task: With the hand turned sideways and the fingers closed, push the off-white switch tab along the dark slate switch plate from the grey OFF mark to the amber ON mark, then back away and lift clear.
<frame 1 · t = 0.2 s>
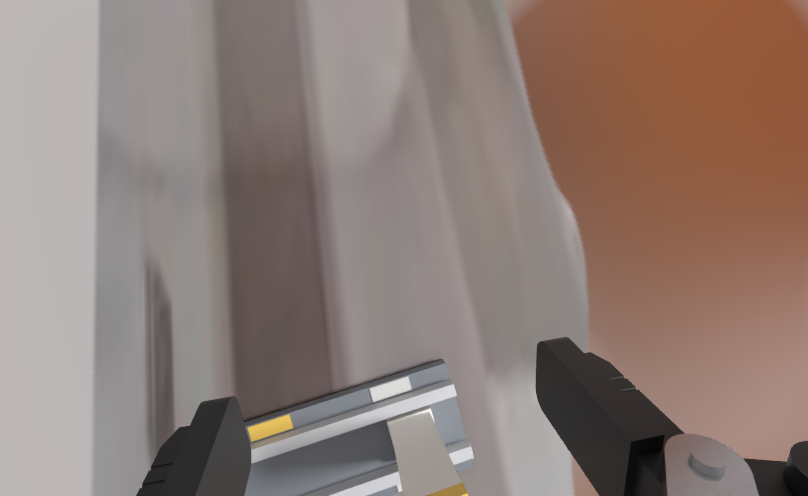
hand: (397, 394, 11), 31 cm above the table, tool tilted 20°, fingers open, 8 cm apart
switch plate: (345, 446, 41), on the table
switch tab: (425, 471, 33), point 9 cm above the table, slide at -7.0 cm
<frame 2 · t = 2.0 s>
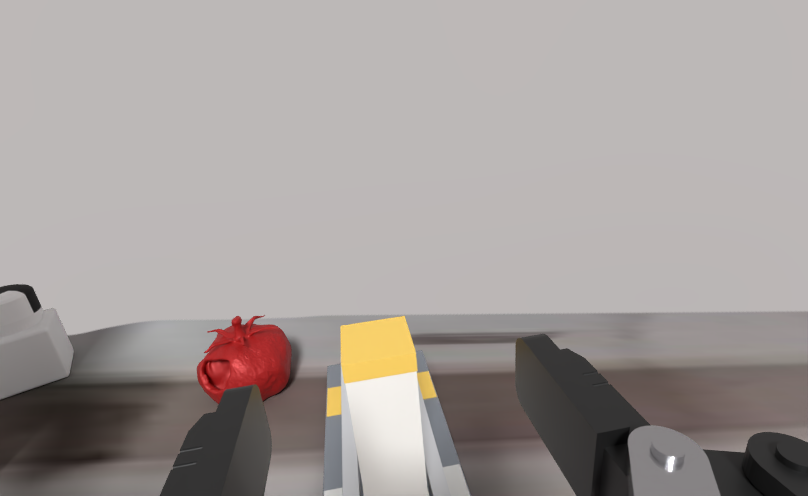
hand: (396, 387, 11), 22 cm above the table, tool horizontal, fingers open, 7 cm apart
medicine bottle: (39, 375, 52), on the table
switch plate: (389, 451, 36), on the table
red round fruit: (253, 388, 46), on the table
switch tab: (388, 434, 27), point 9 cm above the table, slide at -7.0 cm
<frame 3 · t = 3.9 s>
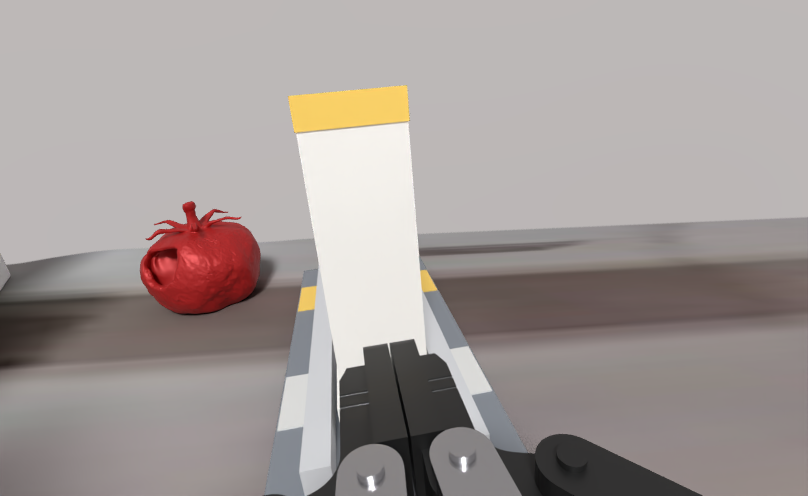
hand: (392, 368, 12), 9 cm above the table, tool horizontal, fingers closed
switch plate: (376, 346, 28), on the table
red round fruit: (214, 299, 38), on the table
switch tab: (368, 264, 18), point 9 cm above the table, slide at -7.0 cm
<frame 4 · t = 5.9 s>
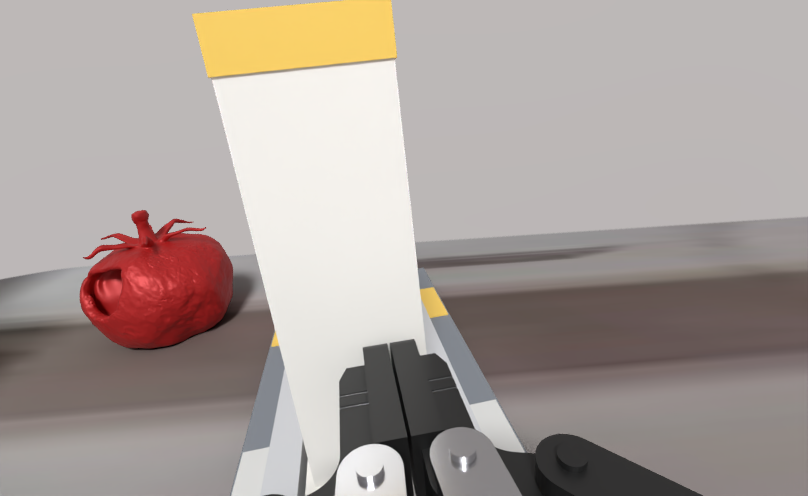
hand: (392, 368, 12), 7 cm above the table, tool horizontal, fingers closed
switch plate: (371, 393, 21), on the table
red round fruit: (178, 327, 32), on the table
switch tab: (347, 283, 13), point 9 cm above the table, slide at -5.8 cm
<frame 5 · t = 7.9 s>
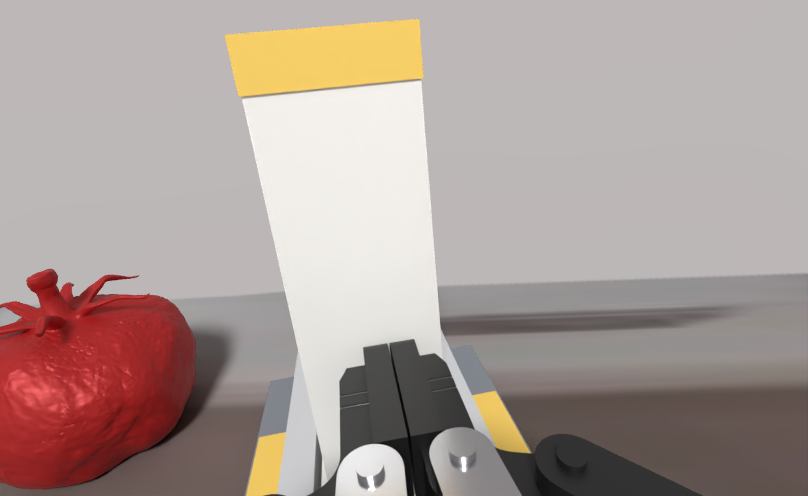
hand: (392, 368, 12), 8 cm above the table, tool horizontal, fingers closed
red round fruit: (112, 431, 22), on the table
switch tab: (363, 293, 13), point 9 cm above the table, slide at 5.1 cm, touching gripper
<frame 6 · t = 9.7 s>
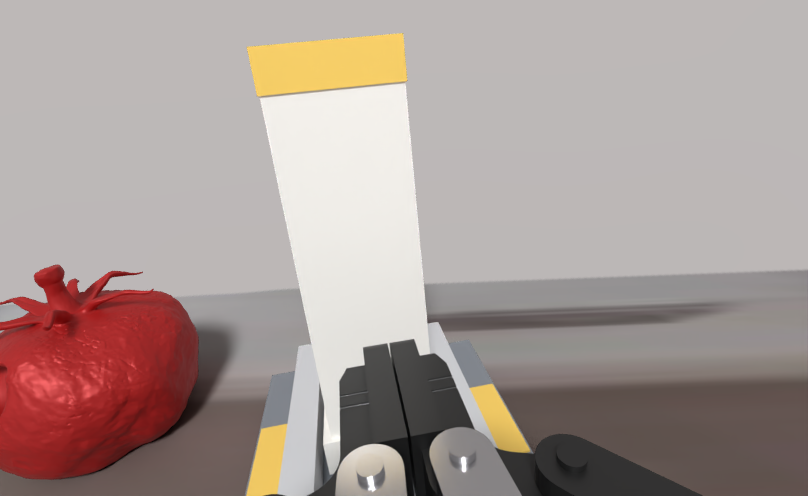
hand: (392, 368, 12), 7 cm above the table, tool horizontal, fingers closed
red round fruit: (117, 425, 22), on the table
switch tab: (360, 266, 15), point 9 cm above the table, slide at 6.9 cm
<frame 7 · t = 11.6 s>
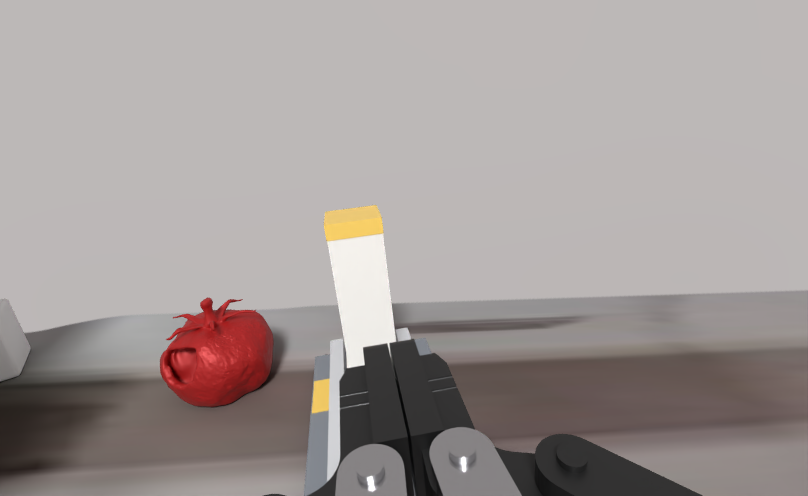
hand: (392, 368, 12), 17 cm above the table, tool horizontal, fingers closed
switch plate: (387, 454, 30), on the table
red round fruit: (229, 384, 40), on the table
switch tab: (364, 301, 33), point 9 cm above the table, slide at 6.9 cm
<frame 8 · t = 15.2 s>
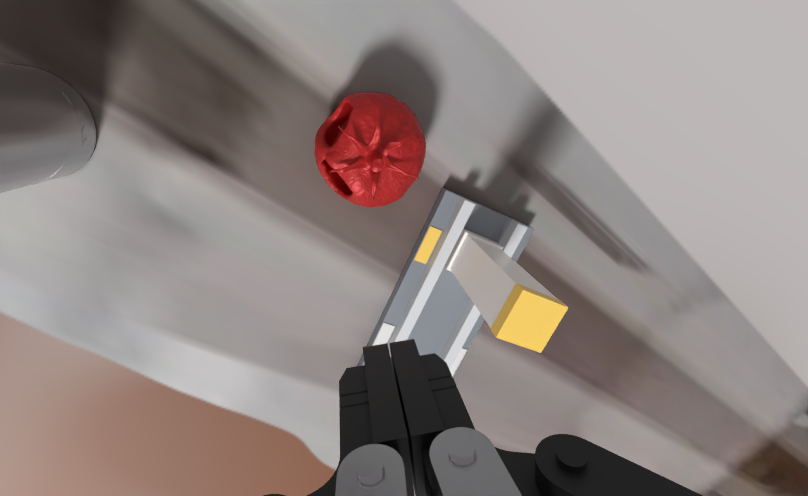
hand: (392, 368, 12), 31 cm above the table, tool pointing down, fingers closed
switch plate: (438, 300, 47), on the table
red round fruit: (368, 147, 40), on the table
switch tab: (495, 281, 37), point 9 cm above the table, slide at 6.9 cm
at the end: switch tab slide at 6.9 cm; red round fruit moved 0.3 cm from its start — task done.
